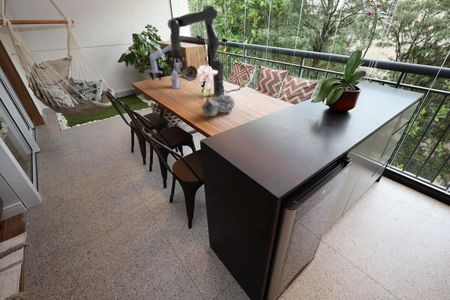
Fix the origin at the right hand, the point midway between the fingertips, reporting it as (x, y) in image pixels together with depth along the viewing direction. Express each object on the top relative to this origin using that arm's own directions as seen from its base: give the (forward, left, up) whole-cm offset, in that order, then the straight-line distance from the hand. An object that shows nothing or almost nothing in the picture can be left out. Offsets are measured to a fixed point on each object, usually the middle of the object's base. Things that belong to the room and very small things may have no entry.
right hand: (179, 71), depth 169 cm
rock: (-15, +37, -29) cm, 49 cm away
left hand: (+2, -57, -19) cm, 60 cm away
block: (0, 0, 0) cm, 1 cm away
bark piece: (-47, -81, -29) cm, 97 cm away
